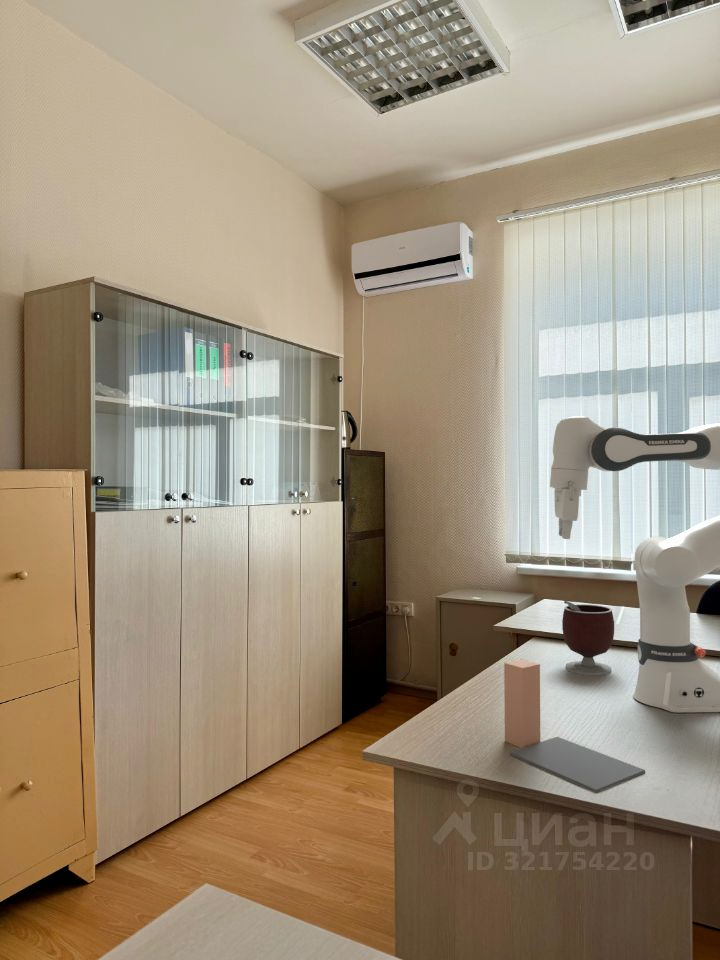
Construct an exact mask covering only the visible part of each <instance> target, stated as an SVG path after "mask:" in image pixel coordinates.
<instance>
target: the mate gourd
mask: <svg viewBox="0 0 720 960" xmlns="http://www.w3.org/2000/svg"><path fill="white" fill-rule="evenodd" d="M563 603H564V604H566V605H565V606H564V609H563V614H562V620H561V622H562V625H561V626H562V636H563V639H564V643H565V645H566V646H567V647H568V649H569V650H570V651H572V652H574V653H576V654H578V655H580V656H581V657H582V659H581V660H577V661H576V660H575V661H569V662H567V663H566V664H565V669H566V670H567V671H568V672H570V671H571V673H573V672H574V673H573V674H579V675H583V674H584V675H583V676H605V675H609V674H611V673H612V667H611V666H609V665H608V664H605V663H601V662H597V661H595V659H594V657H597V656H600V655H602V654H605V653H607V652H608V651H609V649H611V647H612V645H613V642H614V637H615V619H614V613H613V609H612V608H611V607H608V606H603V605H597V604H585V603H582V604H574V603H572V602H571V601H567V600H564V601H563Z"/></svg>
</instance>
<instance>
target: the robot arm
mask: <svg viewBox="0 0 720 960" xmlns="http://www.w3.org/2000/svg"><path fill="white" fill-rule="evenodd" d="M556 424H557V425H556V427H555V431H554V434H553V435H554V436H553V444H552V456H553V461H552V463H551V468H550V479H549V487H550V488H553V489H554V491H553V492H554V513H555V517H556V518H558V537H562V539H564V540H570V539H571V533H572V528H573V522H576V521H578V517H579V507H580V504H579V503H580V497H581V496H582V491H587V489H588V479H589V469H590V468H595V469H597V470H600V471H603V472H621V471H624V470H627V469H629V468H631V467H633V466H634V465H637V464H641V463H645V462H649V463H650V462H670V461H671V462H672V461H673V462H676V461H677V462H681V463H686V464H687V465H689V466H691V467H692V468H696V469H703V470H711V471H712V470H713V471H714V470H715V471H716V470H719V471H720V423H710V424H703V425H699V426H695V427H691V428H689V429H687V430H685V431H682V432H681V431H680V432H674V433H649V434H644V433H643V434H642V433H641V434H640V433H638V432H637V433H636V432H633V431H632V430H628V429H626V428H623V427H617V426H616V427H608V428H604V427H603V426H600V425H599V424H597V423H595V421H593V420H592V419H591V418H590V417H589V416H585V415H579V416H578V415H577V416H570V417H566V418H563V419H561V420H560V421H559V422H558V423H556ZM634 562H635V576H636V586H637V594H638V595H637V596H638V603H639V620H640V621H639V637H640V638H639V639H638V640H637V641H638V644H637V661H638V663H639V665H638V674H637V678H636V679H637V680H636V684H635V689H634V692H633V695H632V697H633V698H634V700H635V701H638V702H640V703H642V704H644V705H648V706H651V707H654V708H655V707H656V708H659V709H663V710H665V711H667V712H670V713H720V675H719V674H718V673H717V672H716V671H714V670H713V669H712V668H711V667H709V665H707V664H706V663H704V662H703V661H702V660H701V659H699V658H704V657H705V656H706V653H707V652H706V650H704V648H703V647H700V646H698V645H696V644H694V643H693V642H691V611H690V606H689V603H688V599H687V592H686V586H688V585H689V584H691V583H692V582H694V581H696V580H697V579H700V578H702V577H705V575H707V574H709V573H711V572H713V571H715V570H716V569H718V568H720V514H719V515H717V516H715V517H714V516H713V517H711V518H708V519H706V520H704V521H701V522H699V523H698V524H696V525H694V526H693V527H691V528H689V529H687V530H684V531H683V532H681V533H679V534H677V535H675V536H673V537H664V536H656V535H655V536H651V537H648V538H646V539H644V540H643V541H641V542H639V544H638V546H637V547H636V549H635V552H634Z"/></svg>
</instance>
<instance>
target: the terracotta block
mask: <svg viewBox="0 0 720 960" xmlns="http://www.w3.org/2000/svg"><path fill="white" fill-rule="evenodd" d="M503 666H504V667H503V669H504V671H503V672H504V673H503V674H504V675H503V676H504V678H503V679H504V685H503V686H504V742H507V743H509V744H510V745H513V746H516V747H518V748H519V749H520V748H523V747H527V746H530V745H533V744H536V743H539V742H541V664H540V663H536V662H533V661H529V660H525V659H523V658H522V659H515V660H511V661H507V662H504V665H503Z"/></svg>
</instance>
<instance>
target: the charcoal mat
mask: <svg viewBox="0 0 720 960" xmlns="http://www.w3.org/2000/svg"><path fill="white" fill-rule="evenodd" d="M508 754H509V756H511V757H514V758H516V759H518V760H521V761H523V762H525V763H527V764H530V765H532V766H534V767H536V768H539V769H541V770H544V771H546V772H548V773H551V774H553V775H555V776H557V777H560V778H562V779H564V780H566V781H569V782H571V783H573V784H576V785H578V786H580V787H582V788H585V789H587V790H589V791H591V792H594V793H600V792H601V791H605V790H606V789H609V788H612V787H614V786H616V785H618V784H621V783H623V782H626V781H628V780H631V779H633V778H636V777H637V776H638V777H639V776H640V775H643V774H645V773H646V770H645V769H644V768H641V767H639V766H635V765H633V764H630V763H627V762H625V761H622V760H620V759H618V758H615V757H612V756H610V755H607V754H604V753H602V752H598V751H596V750H594V749H591V748H589V747H587V746H584V745H580V744H578V743H575V742H572V741H569V740H567V739H564V738H561V737H559V736H554V737H552V738H549V739H546V740H542V741H540V742H539V743H536V744H533V745H530V746H527V747H523V748H520V747H519V748H518V749H515V750H512V751H508Z"/></svg>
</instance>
